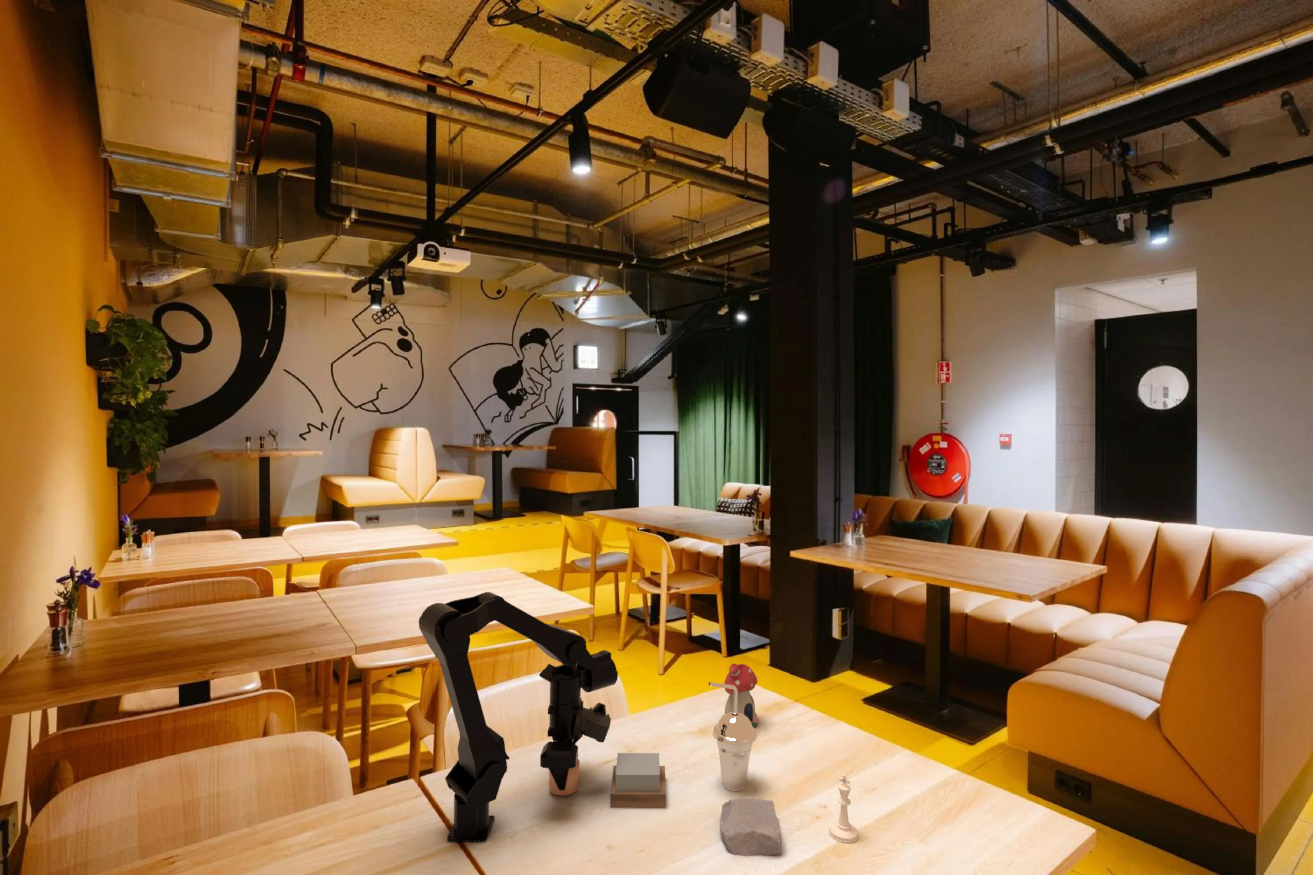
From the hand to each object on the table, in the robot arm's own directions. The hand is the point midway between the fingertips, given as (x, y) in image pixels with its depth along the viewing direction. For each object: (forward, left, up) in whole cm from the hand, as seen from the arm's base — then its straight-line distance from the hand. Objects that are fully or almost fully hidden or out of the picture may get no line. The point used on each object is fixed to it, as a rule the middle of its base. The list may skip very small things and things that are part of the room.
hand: (564, 780), depth 123 cm
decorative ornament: (+28, -37, -2) cm, 46 cm away
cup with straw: (+3, -32, -2) cm, 32 cm away
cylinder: (0, 0, -1) cm, 1 cm away
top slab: (0, -14, 0) cm, 14 cm away
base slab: (0, -14, -3) cm, 14 cm away
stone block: (-12, -33, -2) cm, 35 cm away
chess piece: (-12, -49, -2) cm, 51 cm away
